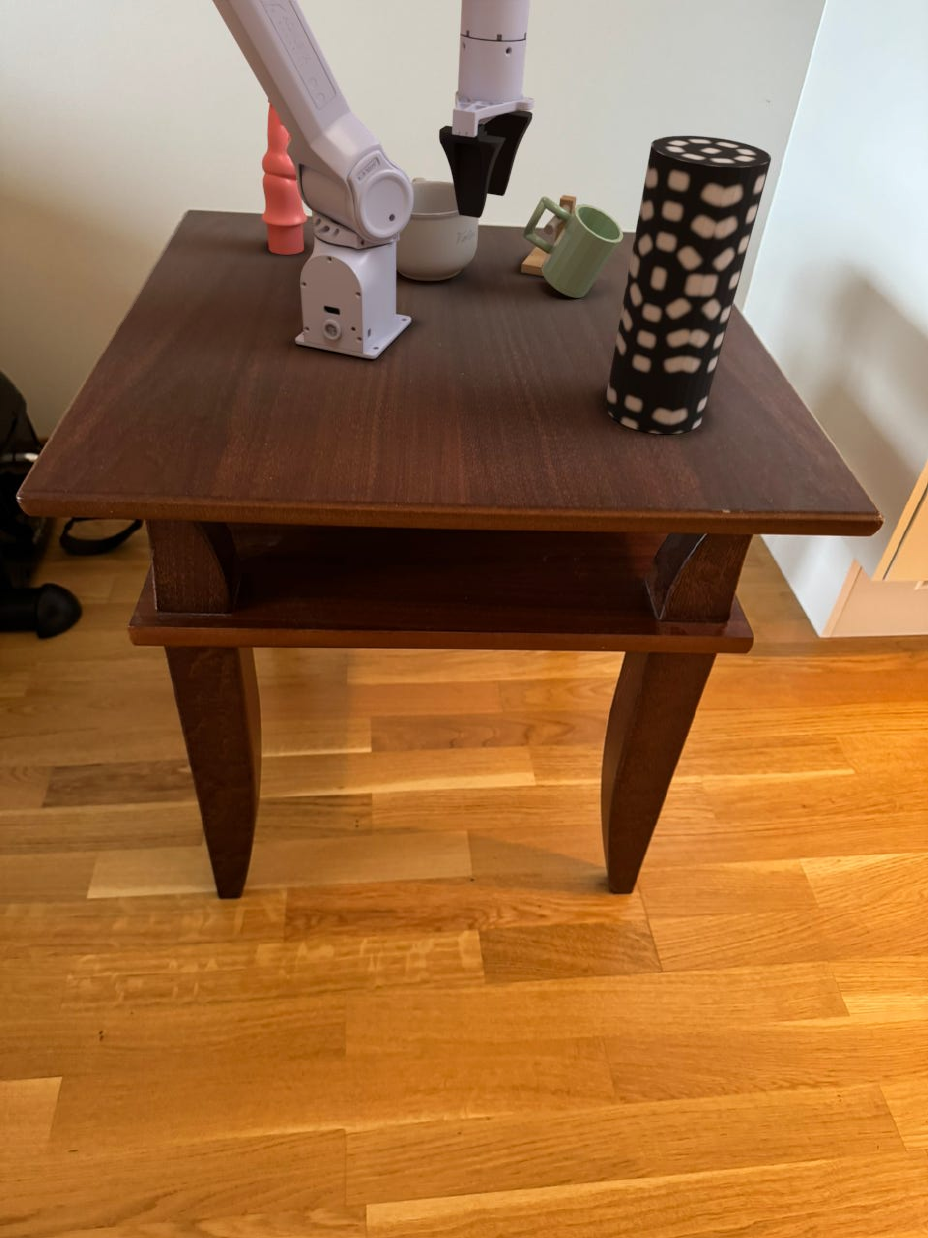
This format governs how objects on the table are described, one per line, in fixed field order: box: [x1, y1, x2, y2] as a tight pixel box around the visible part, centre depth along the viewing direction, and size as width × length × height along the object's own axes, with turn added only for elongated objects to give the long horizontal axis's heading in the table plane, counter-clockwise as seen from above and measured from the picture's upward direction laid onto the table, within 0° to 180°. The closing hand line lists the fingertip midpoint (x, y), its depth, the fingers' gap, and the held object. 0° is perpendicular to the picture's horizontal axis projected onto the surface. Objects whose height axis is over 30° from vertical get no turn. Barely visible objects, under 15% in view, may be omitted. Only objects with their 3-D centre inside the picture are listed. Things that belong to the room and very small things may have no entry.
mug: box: [521, 196, 624, 299], centre depth 90 cm, size 9×6×7 cm, turn 72°
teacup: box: [396, 177, 480, 282], centre depth 94 cm, size 14×11×8 cm
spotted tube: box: [604, 135, 772, 435], centre depth 67 cm, size 8×8×20 cm
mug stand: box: [520, 194, 577, 277], centre depth 93 cm, size 12×6×8 cm, turn 162°
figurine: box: [261, 98, 308, 256], centre depth 93 cm, size 5×5×15 cm
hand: (482, 204), depth 84 cm, fingers open, 7 cm apart
